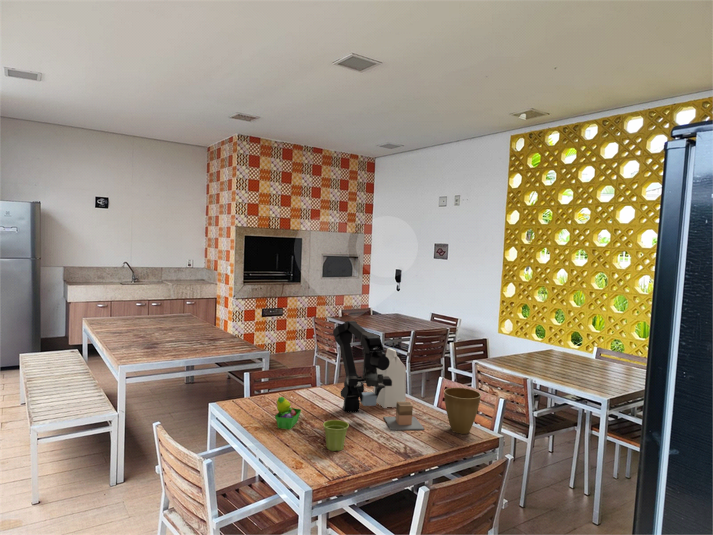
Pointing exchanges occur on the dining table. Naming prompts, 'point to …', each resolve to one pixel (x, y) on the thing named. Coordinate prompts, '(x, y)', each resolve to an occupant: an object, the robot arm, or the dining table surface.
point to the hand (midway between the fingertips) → (368, 401)
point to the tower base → (403, 427)
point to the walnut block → (404, 408)
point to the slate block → (368, 399)
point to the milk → (393, 382)
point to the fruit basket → (286, 414)
